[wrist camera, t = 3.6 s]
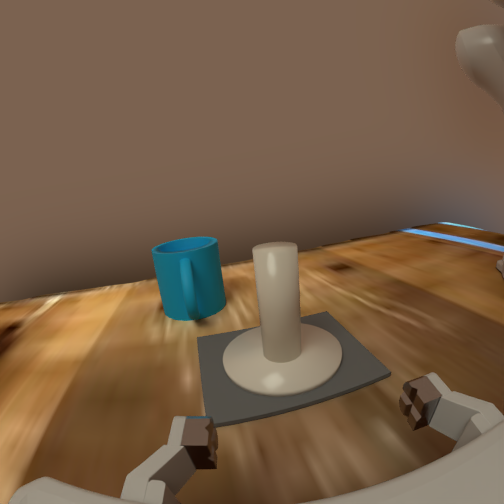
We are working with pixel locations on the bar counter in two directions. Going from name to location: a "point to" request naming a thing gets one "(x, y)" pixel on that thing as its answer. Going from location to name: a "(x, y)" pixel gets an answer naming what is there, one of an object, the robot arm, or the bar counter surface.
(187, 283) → the mug
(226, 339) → the mat
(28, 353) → the bar counter surface
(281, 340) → the white post stand
